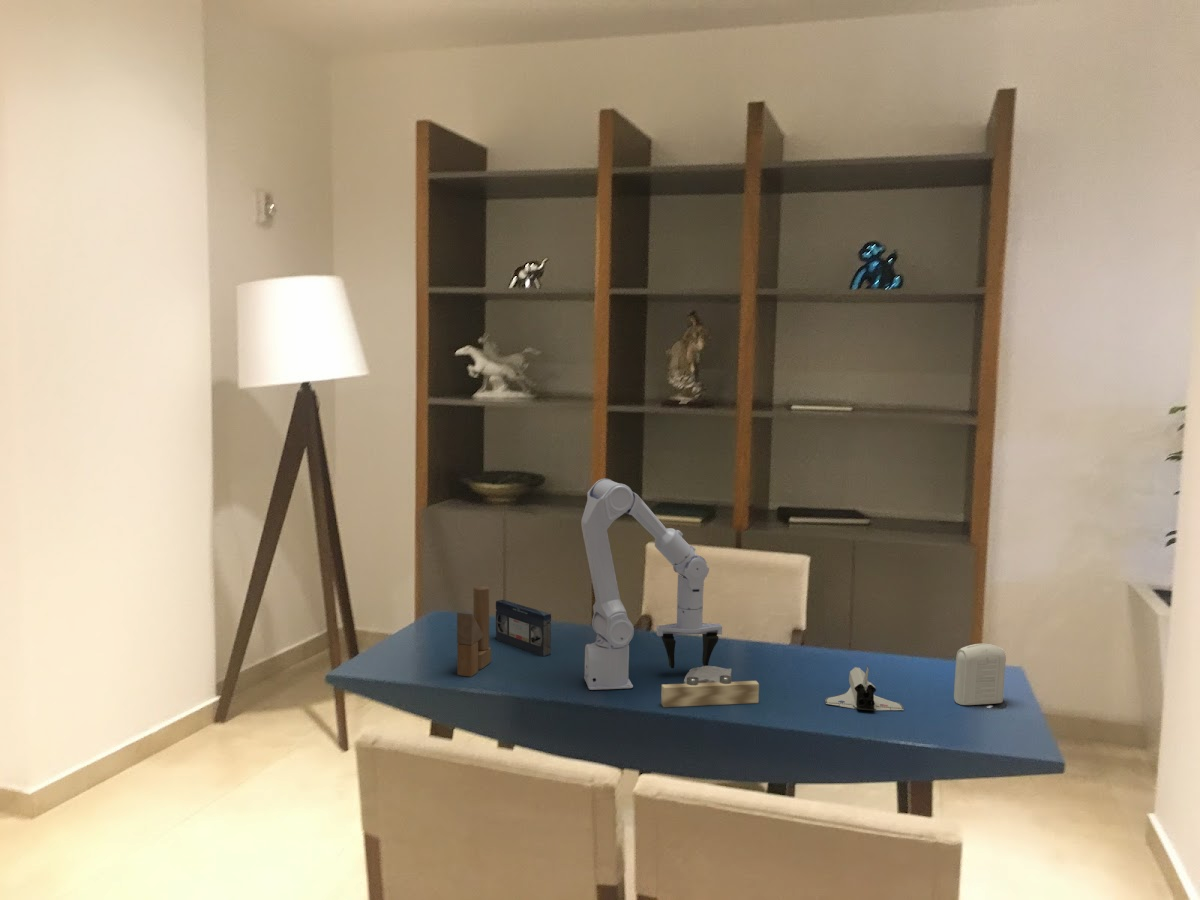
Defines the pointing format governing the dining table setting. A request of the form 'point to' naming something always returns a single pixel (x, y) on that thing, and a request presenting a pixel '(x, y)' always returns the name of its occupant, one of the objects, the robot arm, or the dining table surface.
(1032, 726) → the dining table surface
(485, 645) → the stacked wooden blocks
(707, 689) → the bench stop
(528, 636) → the vhs cassette tape
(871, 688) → the space shuttle model
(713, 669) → the stone block
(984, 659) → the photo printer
